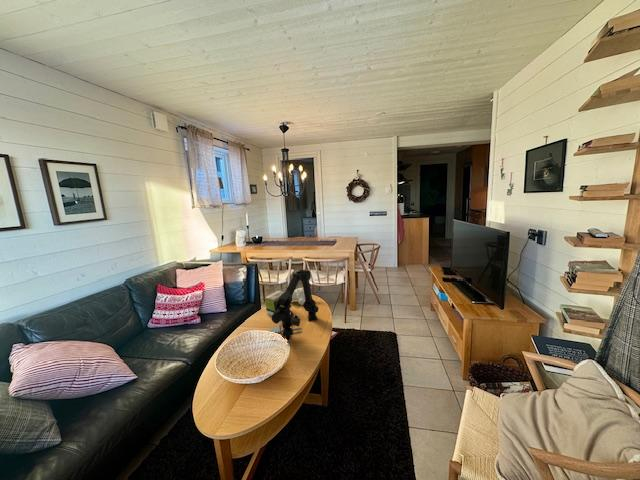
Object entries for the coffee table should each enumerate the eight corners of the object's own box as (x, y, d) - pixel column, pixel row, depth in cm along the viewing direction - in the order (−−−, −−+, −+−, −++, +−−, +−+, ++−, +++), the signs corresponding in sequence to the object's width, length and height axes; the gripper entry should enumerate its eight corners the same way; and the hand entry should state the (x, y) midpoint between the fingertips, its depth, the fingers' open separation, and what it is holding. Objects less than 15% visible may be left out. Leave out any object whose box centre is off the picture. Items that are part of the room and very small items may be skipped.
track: (270, 331, 175) (270, 331, 175) (301, 327, 178) (301, 326, 178) (270, 338, 167) (270, 337, 167) (302, 333, 171) (302, 332, 171)
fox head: (294, 301, 201) (316, 294, 210) (286, 288, 213) (307, 281, 222) (294, 313, 209) (315, 305, 217) (286, 300, 221) (307, 292, 229)
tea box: (280, 306, 211) (278, 289, 208) (289, 309, 205) (287, 292, 202) (266, 314, 199) (264, 296, 196) (275, 317, 193) (273, 299, 190)
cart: (269, 331, 174) (268, 321, 172) (281, 330, 175) (280, 320, 173) (269, 336, 168) (268, 326, 166) (281, 334, 169) (280, 324, 168)
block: (284, 337, 166) (283, 331, 165) (291, 336, 167) (290, 330, 166) (284, 341, 162) (284, 334, 161) (292, 340, 163) (291, 333, 162)
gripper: (300, 321, 153) (302, 344, 157) (297, 307, 171) (299, 328, 175) (281, 324, 152) (283, 347, 155) (280, 309, 170) (282, 330, 173)
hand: (288, 337), depth 164 cm, fingers closed on block, 4 cm apart
